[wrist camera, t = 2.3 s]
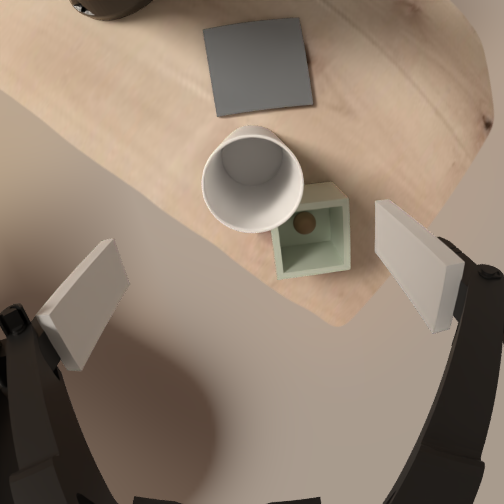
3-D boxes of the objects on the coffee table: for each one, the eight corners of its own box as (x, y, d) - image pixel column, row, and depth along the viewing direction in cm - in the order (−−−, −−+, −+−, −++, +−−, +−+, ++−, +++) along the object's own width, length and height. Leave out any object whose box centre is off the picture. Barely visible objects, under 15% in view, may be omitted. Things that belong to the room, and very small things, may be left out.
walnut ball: (290, 209, 41) (293, 217, 38) (312, 207, 41) (317, 214, 38) (293, 230, 42) (295, 239, 40) (314, 227, 42) (318, 236, 40)
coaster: (203, 30, 31) (202, 29, 31) (298, 18, 31) (299, 17, 30) (217, 116, 37) (217, 116, 36) (312, 104, 36) (313, 104, 35)
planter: (264, 189, 41) (268, 208, 34) (331, 181, 40) (348, 198, 33) (273, 250, 45) (277, 279, 37) (335, 242, 44) (350, 269, 37)
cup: (283, 124, 37) (304, 133, 23) (284, 186, 41) (303, 231, 26) (218, 126, 37) (196, 137, 23) (222, 188, 41) (205, 235, 26)
